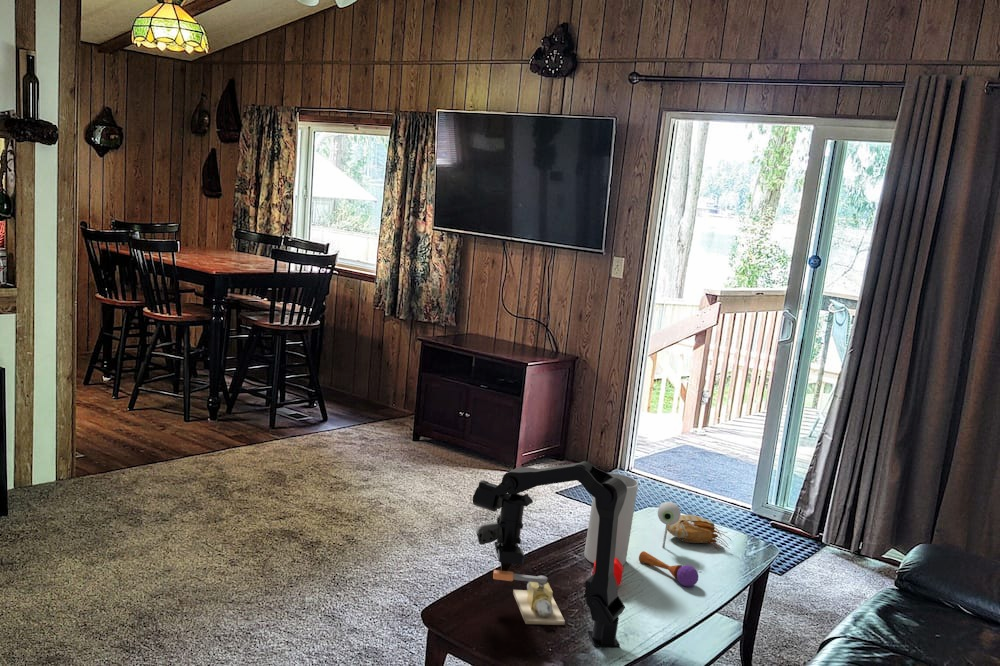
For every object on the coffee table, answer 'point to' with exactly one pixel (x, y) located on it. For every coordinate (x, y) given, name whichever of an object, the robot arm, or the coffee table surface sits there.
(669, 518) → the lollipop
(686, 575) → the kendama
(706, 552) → the coffee table surface
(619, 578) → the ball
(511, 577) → the valve lever
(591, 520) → the cylinder vase
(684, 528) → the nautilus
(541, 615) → the valve
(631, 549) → the coffee table surface
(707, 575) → the coffee table surface
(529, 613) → the valve board
